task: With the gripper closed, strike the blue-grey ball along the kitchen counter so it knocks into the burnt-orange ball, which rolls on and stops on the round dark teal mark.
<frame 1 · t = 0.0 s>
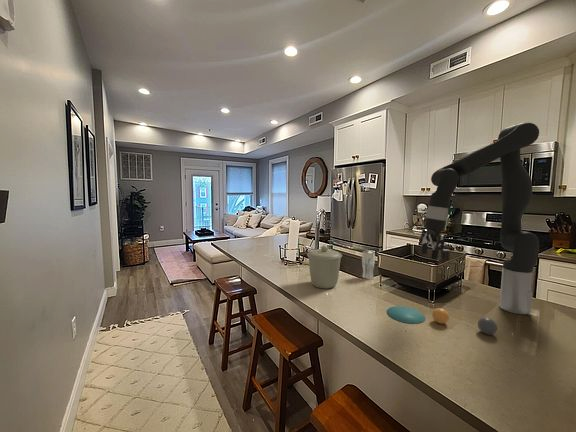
hand: (428, 256, 106), 22 cm above the kitchen island, tool pointing down, fingers open, 8 cm apart
canister: (324, 285, 135), on the kitchen island
beer glass: (367, 278, 146), on the kitchen island
sauce bottle: (443, 288, 130), on the kitchen island
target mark: (405, 314, 103), on the kitchen island
object ball: (440, 315, 96), on the kitchen island
blue-grey ball: (487, 325, 89), on the kitchen island
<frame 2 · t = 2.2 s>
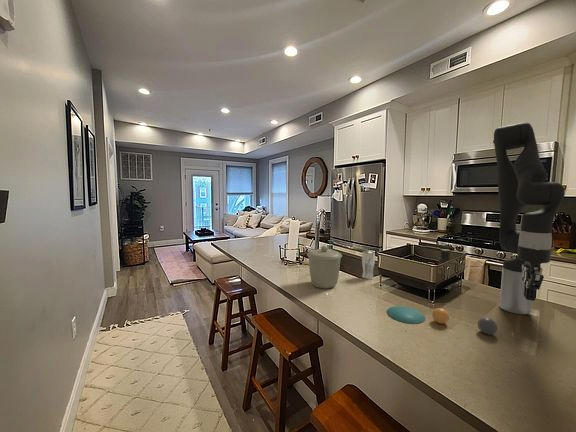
hand: (529, 298, 82), 15 cm above the kitchen island, tool pointing down, fingers closed
nothing on the kitchen island moved.
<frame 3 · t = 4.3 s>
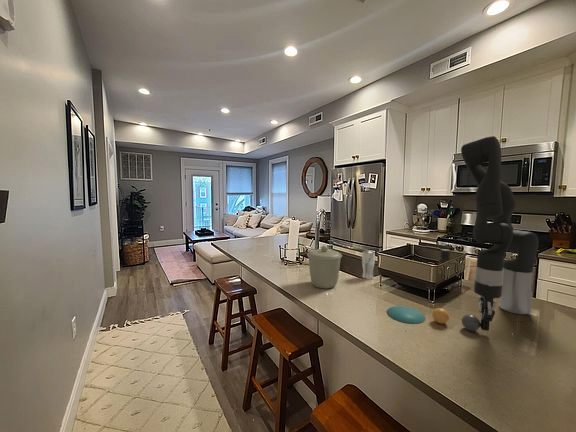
hand: (484, 329, 89), 2 cm above the kitchen island, tool pointing down, fingers closed
blue-grey ball: (470, 322, 91), on the kitchen island
everything else where it was.
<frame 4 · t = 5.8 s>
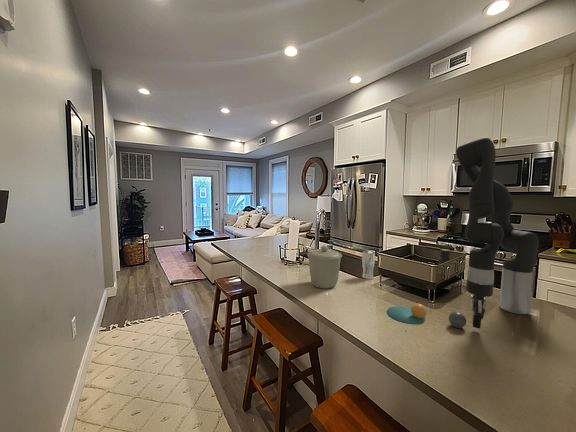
hand: (476, 326, 91), 1 cm above the kitchen island, tool pointing down, fingers closed
object ball: (418, 310, 100), on the kitchen island
blue-grey ball: (457, 319, 93), on the kitchen island
everything else where it was.
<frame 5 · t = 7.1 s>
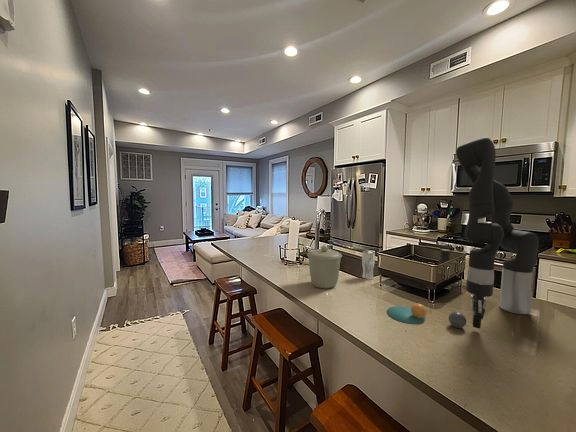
hand: (476, 326, 91), 1 cm above the kitchen island, tool pointing down, fingers closed
nothing on the kitchen island moved.
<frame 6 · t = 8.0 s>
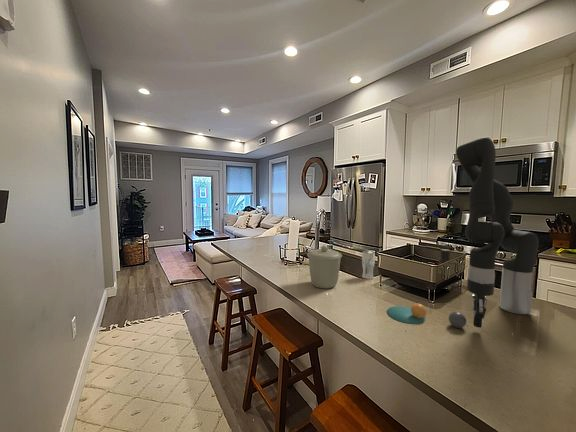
hand: (477, 326, 90), 2 cm above the kitchen island, tool pointing down, fingers closed
nothing on the kitchen island moved.
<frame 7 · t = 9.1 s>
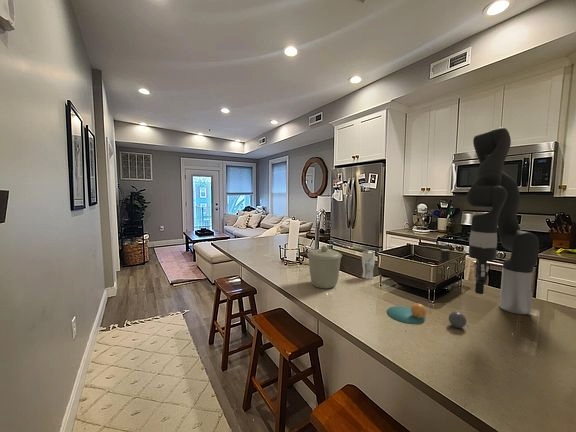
hand: (479, 293, 89), 14 cm above the kitchen island, tool pointing down, fingers closed
nothing on the kitchen island moved.
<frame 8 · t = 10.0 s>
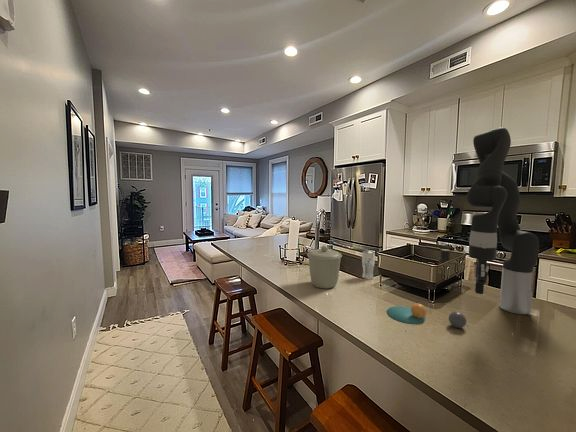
hand: (478, 293, 89), 14 cm above the kitchen island, tool pointing down, fingers closed
nothing on the kitchen island moved.
at the end: object ball 4.6 cm from the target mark (horizontally); object ball never touched the robot; blue-grey ball first touched object ball at 4.5 s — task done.
